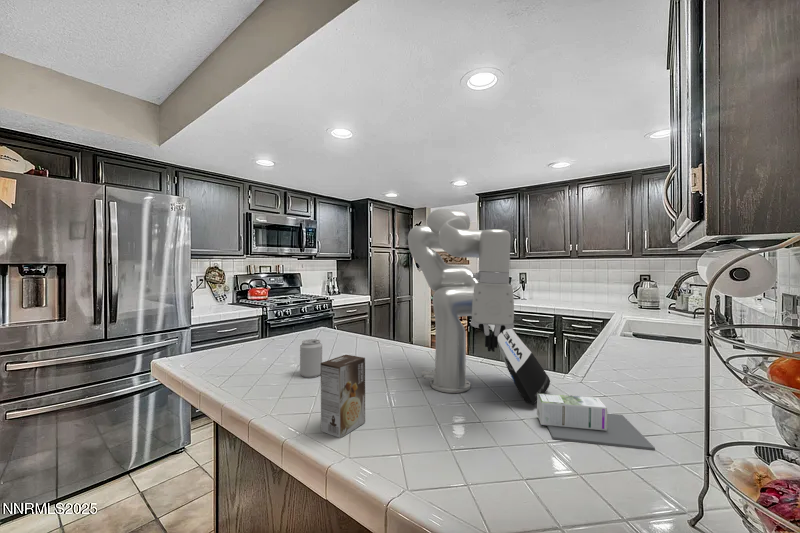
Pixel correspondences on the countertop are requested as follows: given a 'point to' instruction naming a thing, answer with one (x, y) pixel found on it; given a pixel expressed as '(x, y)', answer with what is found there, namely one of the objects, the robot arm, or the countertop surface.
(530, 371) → the protein powder
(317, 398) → the countertop surface
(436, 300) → the robot arm
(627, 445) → the mat
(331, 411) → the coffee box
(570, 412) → the syrup box
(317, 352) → the can
